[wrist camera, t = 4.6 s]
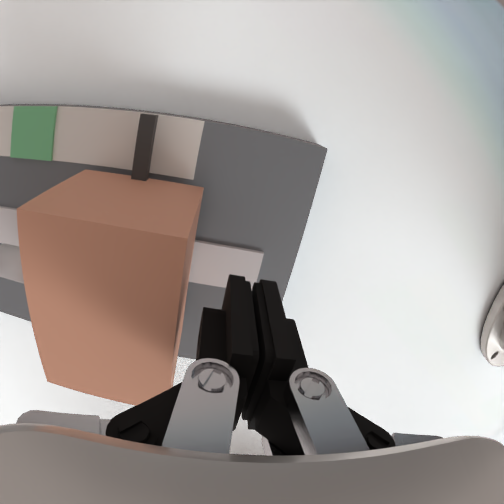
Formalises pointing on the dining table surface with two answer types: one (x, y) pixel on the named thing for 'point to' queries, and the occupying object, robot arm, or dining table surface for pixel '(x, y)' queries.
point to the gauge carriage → (108, 276)
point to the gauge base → (173, 170)
